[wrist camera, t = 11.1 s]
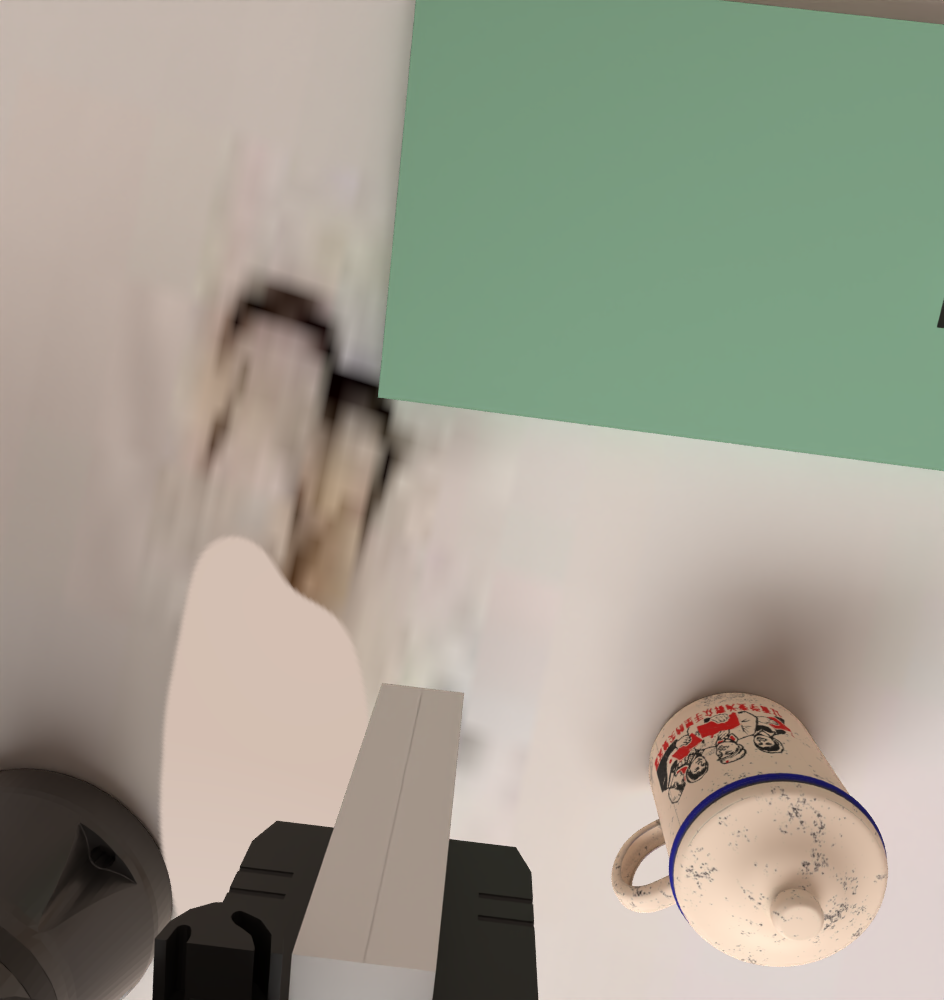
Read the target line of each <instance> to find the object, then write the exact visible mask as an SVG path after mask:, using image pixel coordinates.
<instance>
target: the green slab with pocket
mask: <svg viewBox="0 0 944 1000" xmlns="http://www.w3.org/2000/svg"><path fill="white" fill-rule="evenodd" d="M378 397H379V398H387V399H395V400H402V401H410V402H418V403H425V404H433V405H441V406H448V407H456V408H464V409H471V410H479V411H487V412H494V413H502V414H510V415H517V416H525V417H533V418H541V419H548V420H556V421H564V422H571V423H579V424H587V425H594V426H602V427H610V428H617V429H625V430H633V431H640V432H648V433H656V434H663V435H671V436H679V437H686V438H694V439H702V440H709V441H717V442H725V443H732V444H740V445H748V446H755V447H763V448H771V449H778V450H786V451H794V452H801V453H809V454H817V455H824V456H832V457H840V458H847V459H855V460H863V461H870V462H878V463H886V464H893V465H901V466H909V467H916V468H924V469H932V470H939V471H944V25H943V24H934V23H924V22H915V21H906V20H897V19H888V18H879V17H869V16H860V15H851V14H842V13H833V12H824V11H814V10H805V9H796V8H787V7H778V6H768V5H759V4H750V3H741V2H732V1H723V0H416V4H415V15H414V25H413V36H412V46H411V57H410V67H409V78H408V88H407V99H406V109H405V120H404V130H403V141H402V151H401V162H400V172H399V183H398V193H397V204H396V214H395V225H394V235H393V246H392V256H391V267H390V277H389V288H388V298H387V309H386V319H385V330H384V340H383V351H382V361H381V372H380V382H379V393H378Z"/></svg>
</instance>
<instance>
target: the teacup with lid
mask: <svg viewBox="0 0 944 1000" xmlns="http://www.w3.org/2000/svg"><path fill="white" fill-rule="evenodd" d="M649 778H650V784H651V788H652V792H653V796H654V800H655V804H656V808H657V812H658V816H659V819H658V820H656V821H654V822H652V823H650V824H648V825H646V826H645V827H643V828H642V829H640V830H639V831H637V832H636V833H635V834H633V835H632V836H631V837H630V838H629V839H628V840H627V841H626V842H625V843H624V845H623V846H622V848H621V849H620V851H619V853H618V855H617V856H616V859H615V861H614V864H613V868H612V886H613V889H614V892H615V894H616V896H617V897H618V899H619V900H620V902H621V903H622V904H623V905H624V906H625V907H626V908H628V909H630V910H632V911H635V912H640V913H649V912H655V911H659V910H662V909H664V908H667V907H669V906H671V905H674V904H677V906H678V907H679V909H680V911H681V913H682V914H683V916H684V917H685V919H686V920H687V921H688V923H689V924H690V925H691V926H692V927H693V929H694V930H695V931H696V932H697V933H698V934H699V935H700V936H701V937H702V938H703V939H704V940H706V941H707V942H708V943H709V944H711V945H712V946H714V947H715V948H717V949H718V950H720V951H721V952H723V953H725V954H727V955H729V956H731V957H734V958H736V959H738V960H741V961H745V962H748V963H752V964H756V965H763V966H773V967H788V966H797V965H803V964H808V963H811V962H815V961H818V960H821V959H824V958H826V957H828V956H831V955H833V954H835V953H837V952H838V951H840V950H842V949H843V948H845V947H846V946H848V945H849V944H851V943H852V942H853V941H854V940H855V939H857V938H858V937H859V936H860V935H861V934H862V933H863V932H864V931H865V930H866V928H867V927H868V926H869V925H870V923H871V922H872V920H873V919H874V917H875V916H876V914H877V912H878V910H879V908H880V906H881V903H882V901H883V898H884V894H885V890H886V885H887V878H888V866H887V856H886V850H885V845H884V842H883V839H882V836H881V834H880V831H879V829H878V827H877V825H876V824H875V822H874V821H873V819H872V817H871V816H870V815H869V813H868V812H867V811H866V810H865V809H864V808H863V807H862V806H861V804H860V803H859V802H858V801H856V800H855V799H854V798H853V797H852V796H850V795H849V793H848V792H847V790H846V789H845V787H844V786H843V784H842V783H841V781H840V780H839V778H838V777H837V775H836V774H835V772H834V771H833V769H832V768H831V766H830V765H829V763H828V762H827V760H826V758H825V757H824V755H823V754H822V752H821V751H820V749H819V748H818V746H817V745H816V743H815V742H814V740H813V739H812V737H811V736H810V734H809V733H808V731H807V730H806V728H805V727H804V726H803V724H802V723H801V722H800V721H799V720H798V719H797V718H796V717H795V716H794V715H793V714H792V713H791V712H790V711H789V710H787V709H786V708H784V707H783V706H781V705H780V704H778V703H776V702H774V701H772V700H769V699H767V698H764V697H761V696H757V695H752V694H746V693H722V694H716V695H711V696H708V697H705V698H702V699H699V700H697V701H695V702H693V703H691V704H689V705H687V706H686V707H684V708H683V709H681V710H680V711H678V712H677V713H676V714H675V715H674V716H673V717H672V718H671V719H670V720H669V721H668V722H667V723H666V724H665V725H664V727H663V728H662V730H661V731H660V733H659V734H658V736H657V738H656V740H655V742H654V745H653V747H652V751H651V754H650V760H649ZM665 844H666V847H667V851H668V855H669V875H668V876H666V877H664V878H662V879H660V880H658V881H656V882H653V883H651V884H648V885H644V886H632V881H633V877H634V874H635V872H636V870H637V868H638V866H639V865H640V863H641V862H642V861H643V859H644V858H645V857H646V856H648V855H649V854H650V853H651V852H653V851H654V850H656V849H657V848H659V847H661V846H663V845H665Z"/></svg>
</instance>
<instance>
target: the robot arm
mask: <svg viewBox="0 0 944 1000" xmlns="http://www.w3.org/2000/svg"><path fill="white" fill-rule="evenodd" d="M463 698H464V693H460V692H451V691H443V690H435V689H426V688H418V687H410V686H401V685H393V684H385V683H382V685H381V688H380V691H379V694H378V697H377V700H376V703H375V706H374V709H373V712H372V715H371V718H370V721H369V724H368V727H367V730H366V733H365V736H364V739H363V742H362V745H361V748H360V751H359V754H358V757H357V760H356V763H355V766H354V769H353V772H352V775H351V778H350V781H349V784H348V787H347V790H346V793H345V796H344V799H343V802H342V805H341V808H340V811H339V814H338V817H337V820H336V823H335V826H334V828H332V827H323V826H316V825H307V824H299V823H291V822H282V821H276V822H275V823H274V824H272V825H271V826H270V827H269V828H268V829H266V830H265V831H264V832H263V833H261V834H260V835H259V836H258V837H256V838H255V839H254V840H253V841H252V843H251V845H250V847H249V849H248V851H247V853H246V855H245V857H244V859H243V862H242V864H241V865H240V870H239V871H238V872H237V874H236V876H235V878H234V880H233V882H232V884H231V886H230V890H229V893H227V895H226V897H225V899H224V901H223V902H219V903H218V902H215V903H211V904H207V905H204V906H200V907H196V908H193V909H190V910H188V911H186V912H185V913H183V914H181V915H180V916H178V917H176V918H175V919H173V920H171V921H170V918H171V911H172V892H171V884H170V879H169V875H168V871H167V868H166V865H165V862H164V860H163V858H162V855H161V853H160V851H159V849H158V847H157V846H156V844H155V842H154V841H153V839H152V837H151V836H150V835H149V833H148V832H147V830H146V829H145V828H144V827H143V825H142V824H141V823H140V822H139V821H138V820H137V819H136V817H135V816H134V815H133V814H132V813H131V812H129V811H128V810H127V809H126V808H125V807H124V806H123V805H121V804H120V803H119V802H118V801H116V800H115V799H114V798H112V797H111V796H109V795H108V794H106V793H105V792H103V791H101V790H100V789H98V788H96V787H94V786H92V785H90V784H88V783H86V782H84V781H81V780H79V779H76V778H73V777H70V776H67V775H64V774H60V773H56V772H51V771H45V770H36V769H14V770H5V771H0V1000H122V999H123V998H124V997H125V996H126V995H128V994H129V993H130V991H131V990H132V989H133V988H134V987H135V986H136V985H137V983H138V982H139V981H140V979H141V978H142V977H143V975H144V974H145V972H146V970H147V968H148V967H149V965H150V963H151V962H152V960H153V958H154V972H153V1000H538V986H537V968H536V949H535V931H534V913H533V904H532V902H533V894H532V876H531V871H530V869H529V868H528V866H527V864H526V863H525V861H524V860H523V858H522V856H521V855H520V853H519V851H518V850H517V848H516V847H509V846H501V845H493V844H485V843H476V842H468V841H460V840H452V839H449V836H450V826H451V816H452V806H453V796H454V787H455V777H456V767H457V757H458V747H459V737H460V728H461V718H462V708H463Z"/></svg>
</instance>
